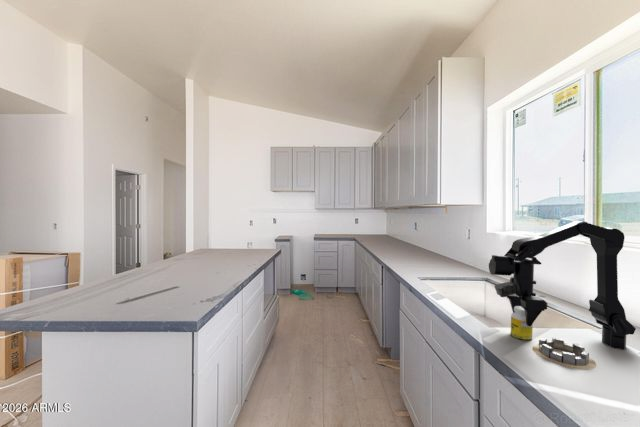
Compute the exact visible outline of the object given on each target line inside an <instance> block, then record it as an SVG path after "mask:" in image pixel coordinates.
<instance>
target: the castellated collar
mask: <svg viewBox="0 0 640 427" xmlns="http://www.w3.org/2000/svg"><path fill="white" fill-rule="evenodd" d="M551 338H552V339H551V340H548V339H547V338H545V337H541V338H540V339H538V344H539V351H540V353H541V354H543V355H544V356H546V357H547V358H550V359H552V360H554V361H557V362H560V363H563V364H568V365H573V366H575V365H576V366H585V365H587V364H588V363H589V357H590V352H588V351H585V350H586V349H585V347H584V346H582V345H580V344H578V343H572V344H569V343H565V340H564V339H561V338H557V337H551ZM553 348H554V349H559V350H564V351H567V352H563V351H562V355H561V354H559V353H556V352H553ZM568 352H570V353H568ZM575 355H577V356H579V357H575Z"/></svg>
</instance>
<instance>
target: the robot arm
mask: <svg viewBox="0 0 640 427" xmlns="http://www.w3.org/2000/svg"><path fill="white" fill-rule="evenodd" d="M577 236H583V237H585V238H588V239H589V241H590V245H591V247H592V249H593V250H594V252H595V253H596V279H597V280H596V288H597V289H596V290H597V292H596V293H597V295H596V297H595V298H594V299H589V301H588V302H589V303H588V304H589V308H588V312H590V314H591V316H592V317H593V318H594V319H595V322H596V324H599V325H601V326H602V327H601V343H602V344H604V345H606V346H609V347H611V348H613V349H617V350H623V351H625V350H626V348H627V336H628V335H634V334H635V332H636V330H637V328H636V327H635V326H634V325H633V324H631V322H630V321H629V320H627V316H626V311H625V307H624V306H623V305H622V303H621V301H620V300H619V289H618V288H619V287H618V286H619V285H618V284H619V283H618V282H619V281H618V255H619V254H620V251H621V250H623V248H624V243H625V234H624V232H623V231H622V230H620V229H618V228H613V227H612V228H611V227H604V226H601V225H600V226H599V225H596V224H593V223H589V222H587V221H584V220H583V221H582V220H581V221H580V220H573V221H572V222H570V223H568V224H565V225H563V226H560V227H558V228H555V229H553V230H549V231H547V232H545V233H542V234H540V235H537V236H530V237H529V236H528V237H524V238H519V239H516V240H513V242H512V245H511V248H510V249H509V250H508V251H507V252H506V253H505V254H504V255H496V254H495V255H494V254H493V255H491V258H490V260H489V263H488V271H489V273H490V274H491V275H493V276H511V277H510V278H509V281H507V282H501V283H498V284H495V285H494V289H495V291H496V292H495V293H496V295H497V296H499V297H500V298H507V299H508V301H509V303H510V306H511V311H512V313H514V312H515V311H514V307H515V306H521V307H522V308H523V309H524V310H525V316H526V324H527V326H531V325H532V324H534V322H535V321H536V319H537V318H538V317H539V315H541V314H542V312H544V311H545V310H548V302H546V300H544V299H542V298H540V297H539V296H536V294H537V293H536V292H534V285H537V281H536V280H534V277H535V276H534V275H535V274H534V271H535V270H534V269H535V265H542V262H541V261H540V260H538V259H537V257H536V256H538V255H539V254H541V253H543V252H544V250H546V249H547V248H549V247H551V246H554V245H556V244H558V243H561V242H564V241H566V240H569V239H572V238H574V237H577Z"/></svg>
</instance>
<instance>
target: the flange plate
mask: <svg viewBox="0 0 640 427" xmlns="http://www.w3.org/2000/svg"><path fill="white" fill-rule="evenodd" d="M532 351H533V353H534V354H536V355H537V356H539V357H540V358H542V359H544V360H546V361H548V362H550V363H552V364H555V365H559V366H562V367H567V368H571V369H577V370H593V369H596V367H597V362H595V360H594V359H593V358H591V357H590V356H589V363H588V364H587V365H585V366H576V365H575V366H573V365H568V364H563V363H560V362H557V361H554V360H552V359H550V358H547V357H546V356H544V355H543V354H541V353H540V351H539V343H538V344H535V345H533V346H532ZM562 351H563V352H567V351H564V350H559V349H554V348H553V352H556V353H559V354H561V355H562ZM568 353H570V352H568ZM575 357H579V356H577V355H575Z"/></svg>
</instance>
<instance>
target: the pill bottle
mask: <svg viewBox="0 0 640 427" xmlns="http://www.w3.org/2000/svg"><path fill="white" fill-rule="evenodd" d="M514 311H515V312H514V313H513V312H512V313H511V317H510V336H511V337H512V338H514V339H516V340H520V341H523V342H524V341H525V342H531V341H532V340H533V324H534V323H533V324H532V325H531V326H527V324H526V316H525V310H524V309H523V308H522V307H521V306H515V307H514Z"/></svg>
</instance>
